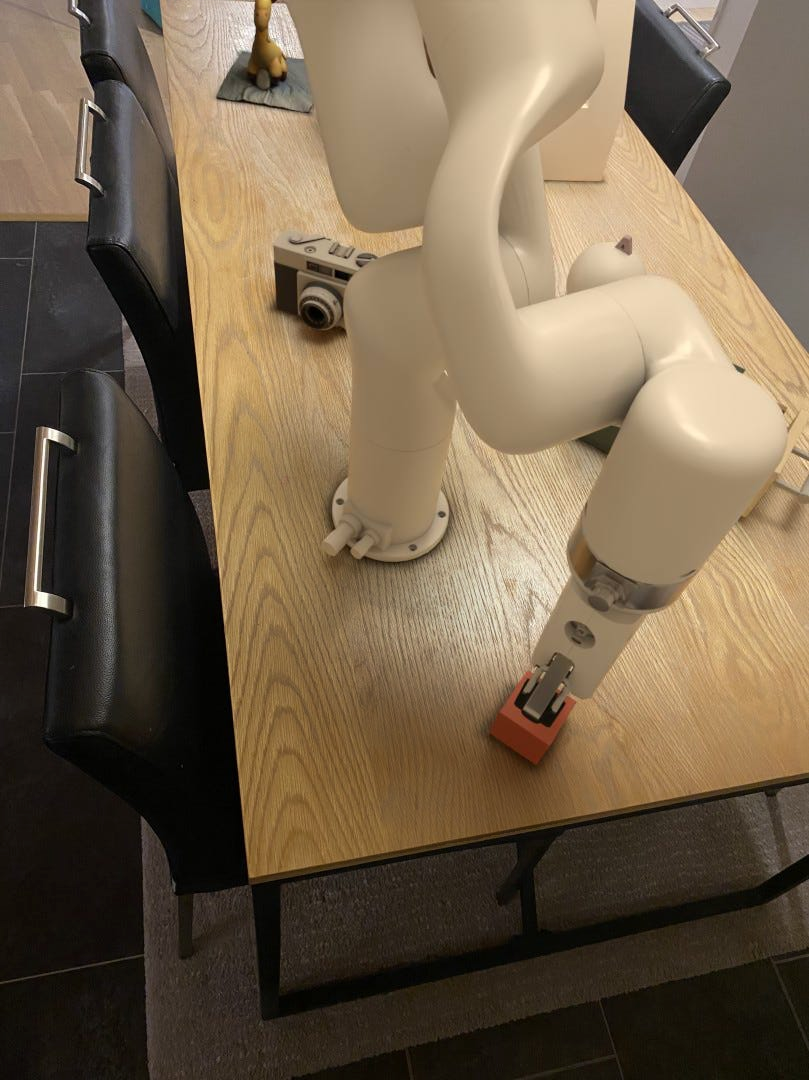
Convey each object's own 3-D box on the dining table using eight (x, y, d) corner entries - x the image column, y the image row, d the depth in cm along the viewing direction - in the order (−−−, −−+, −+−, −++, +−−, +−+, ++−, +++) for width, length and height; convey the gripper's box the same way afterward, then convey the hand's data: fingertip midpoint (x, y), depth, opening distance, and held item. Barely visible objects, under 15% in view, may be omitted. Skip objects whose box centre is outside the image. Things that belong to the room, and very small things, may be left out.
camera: (261, 325, 98) (256, 257, 90) (288, 289, 102) (285, 221, 94) (362, 357, 96) (366, 291, 88) (385, 319, 101) (391, 253, 93)
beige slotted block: (489, 119, 134) (520, -52, 114) (572, 121, 136) (617, -45, 116) (511, 179, 123) (549, 2, 103) (601, 181, 126) (655, 8, 105)
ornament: (634, 301, 108) (665, 225, 98) (627, 347, 102) (659, 270, 92) (563, 284, 109) (588, 206, 99) (552, 328, 103) (577, 250, 93)
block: (535, 765, 68) (549, 746, 64) (488, 733, 69) (499, 711, 65) (562, 722, 70) (576, 701, 66) (515, 692, 72) (527, 669, 68)
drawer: (813, 477, 90) (851, 432, 84) (783, 538, 84) (821, 495, 78) (675, 406, 95) (701, 358, 89) (637, 459, 89) (662, 413, 83)
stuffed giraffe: (216, 97, 129) (209, -13, 117) (242, 54, 140) (239, -50, 128) (308, 115, 130) (312, 8, 117) (328, 72, 141) (333, -30, 128)
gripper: (628, 691, 40) (547, 790, 55) (741, 491, 49) (646, 621, 64) (508, 615, 42) (460, 729, 57) (637, 436, 51) (568, 574, 66)
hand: (559, 672), depth 60 cm, fingers open, 8 cm apart
